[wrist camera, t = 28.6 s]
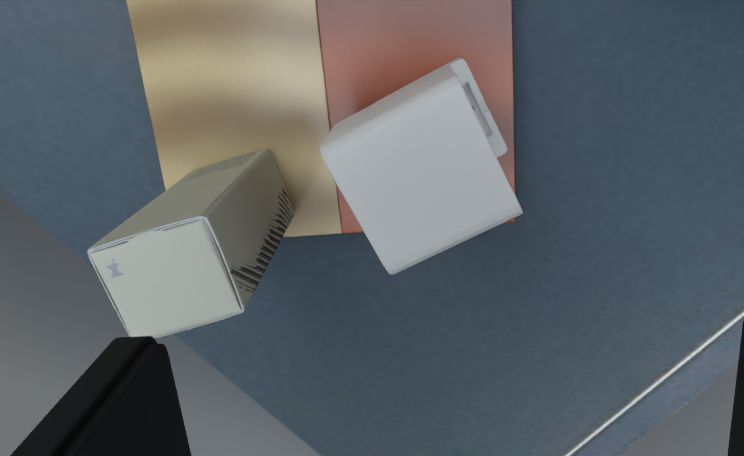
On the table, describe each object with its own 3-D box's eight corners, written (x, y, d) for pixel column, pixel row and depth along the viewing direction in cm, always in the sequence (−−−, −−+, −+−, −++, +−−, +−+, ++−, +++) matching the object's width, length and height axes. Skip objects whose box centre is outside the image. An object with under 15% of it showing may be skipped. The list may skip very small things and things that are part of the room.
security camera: (341, 110, 34) (315, 151, 25) (458, 47, 33) (477, 64, 23) (396, 209, 36) (390, 281, 26) (508, 153, 34) (546, 208, 25)
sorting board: (513, 216, 36) (515, 222, 36) (182, 239, 38) (176, 244, 37) (504, -278, 29) (507, -288, 28) (88, -223, 30) (77, -230, 29)
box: (218, 237, 37) (125, 350, 25) (188, 168, 36) (75, 251, 23) (301, 213, 36) (247, 317, 24) (274, 141, 35) (203, 213, 23)
